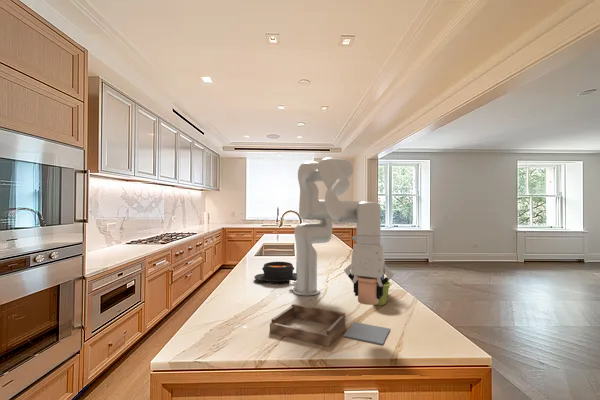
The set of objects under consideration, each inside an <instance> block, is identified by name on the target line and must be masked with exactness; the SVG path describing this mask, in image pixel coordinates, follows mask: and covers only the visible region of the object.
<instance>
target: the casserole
mask: <svg viewBox="0 0 600 400" xmlns="http://www.w3.org/2000/svg"><path fill="white" fill-rule="evenodd" d="M261 270H262V271H263V273H259V274H256V275H254V279H255V280H257V281H262V282H266V281H267V282H269V283H275V284H277V283H278V284H279V283H280V284H281V283H287V282H289V281H290V280H292V281H296V272H294V270H295V267H294V265H293V263H292V262H289V261H270V262H267V263H264V265H263V267H262V268H261Z"/></svg>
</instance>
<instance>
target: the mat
mask: <svg viewBox="0 0 600 400" xmlns="http://www.w3.org/2000/svg"><path fill="white" fill-rule="evenodd" d="M390 331H391V328H387V327H383V326H378V325H372V324H369V323H368V324H367V323H362V322H356V321H354V322H353V323H352V325H350V327H349V328H348V329H347V330H346V332H345V333H344V334H343V337H344V338H347V339H353V340H355V341H356V340H357V341H361V342H366V343H371V344H376V345H380V346H383V345H384V343H385V341H386V340H387V338H388V335H389V333H390Z"/></svg>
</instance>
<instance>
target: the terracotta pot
mask: <svg viewBox="0 0 600 400" xmlns="http://www.w3.org/2000/svg"><path fill="white" fill-rule="evenodd" d="M357 280H358V296H357V301H358V303H360V304H362V305H365V306H366V305H368V306H369V305H372V306H374V305H375V304H377V303H378V299H377V286H378V279H376V278H369V277H360V276H359V277H357Z"/></svg>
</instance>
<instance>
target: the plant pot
mask: <svg viewBox="0 0 600 400" xmlns="http://www.w3.org/2000/svg"><path fill="white" fill-rule="evenodd" d="M391 284H392V283H391V281H390V280H389V281H388V282H386V283H385V284H384V285H383V296H381V298H380V299H378V303H377V304H374V305H376V306H384V305H386V304H387V303H388V302H387V301H388V295H389V289H390V287H391Z"/></svg>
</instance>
